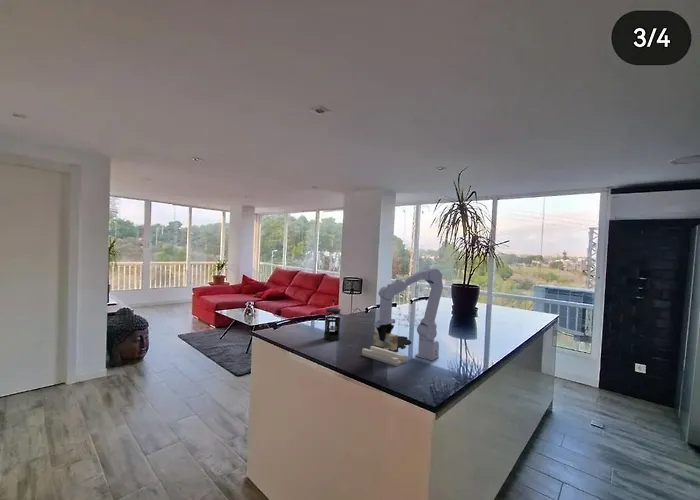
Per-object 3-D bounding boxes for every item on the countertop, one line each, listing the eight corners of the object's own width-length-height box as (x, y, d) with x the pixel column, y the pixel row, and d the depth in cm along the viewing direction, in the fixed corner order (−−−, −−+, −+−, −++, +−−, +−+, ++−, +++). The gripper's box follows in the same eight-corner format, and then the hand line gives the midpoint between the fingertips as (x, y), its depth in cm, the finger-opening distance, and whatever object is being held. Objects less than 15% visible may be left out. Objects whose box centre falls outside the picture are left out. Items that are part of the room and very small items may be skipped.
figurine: (395, 353, 166) (418, 341, 191) (395, 351, 166) (418, 339, 191) (369, 346, 175) (394, 336, 200) (369, 345, 175) (394, 334, 200)
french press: (333, 342, 179) (335, 300, 179) (319, 339, 184) (321, 298, 184) (344, 337, 190) (346, 298, 190) (330, 335, 194) (332, 296, 194)
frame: (397, 349, 153) (397, 335, 153) (393, 350, 151) (394, 336, 151) (376, 343, 161) (377, 330, 161) (373, 344, 159) (373, 331, 159)
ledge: (406, 361, 153) (406, 355, 153) (396, 366, 147) (396, 359, 147) (372, 351, 166) (372, 345, 166) (361, 355, 160) (362, 349, 160)
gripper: (387, 308, 165) (386, 335, 165) (369, 312, 154) (368, 340, 154) (399, 311, 160) (398, 338, 160) (381, 314, 149) (380, 344, 149)
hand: (384, 340), depth 157 cm, fingers closed on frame, 3 cm apart
